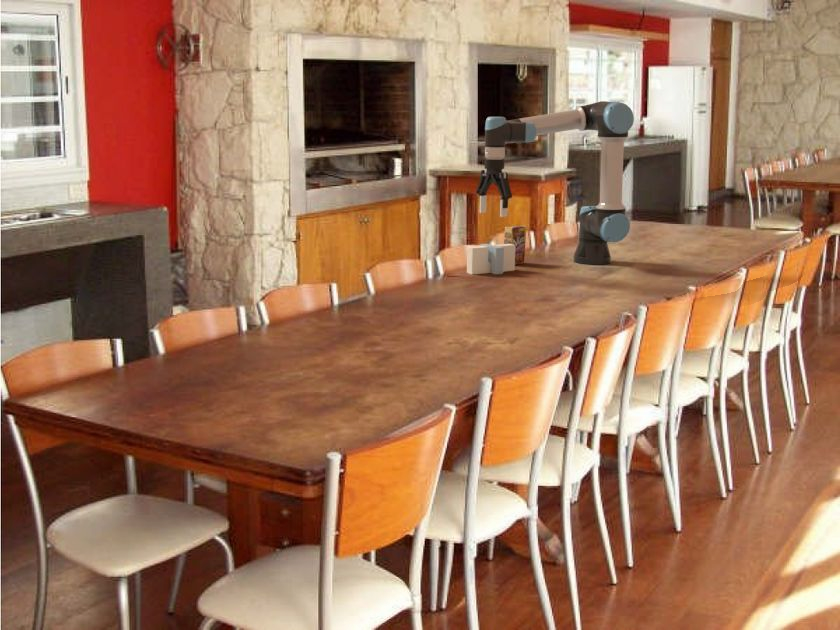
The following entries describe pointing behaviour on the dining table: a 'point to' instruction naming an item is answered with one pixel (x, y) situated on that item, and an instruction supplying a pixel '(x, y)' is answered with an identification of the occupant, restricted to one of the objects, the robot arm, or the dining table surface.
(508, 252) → the slotted stand
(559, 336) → the dining table surface
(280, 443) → the dining table surface
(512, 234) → the candy box
